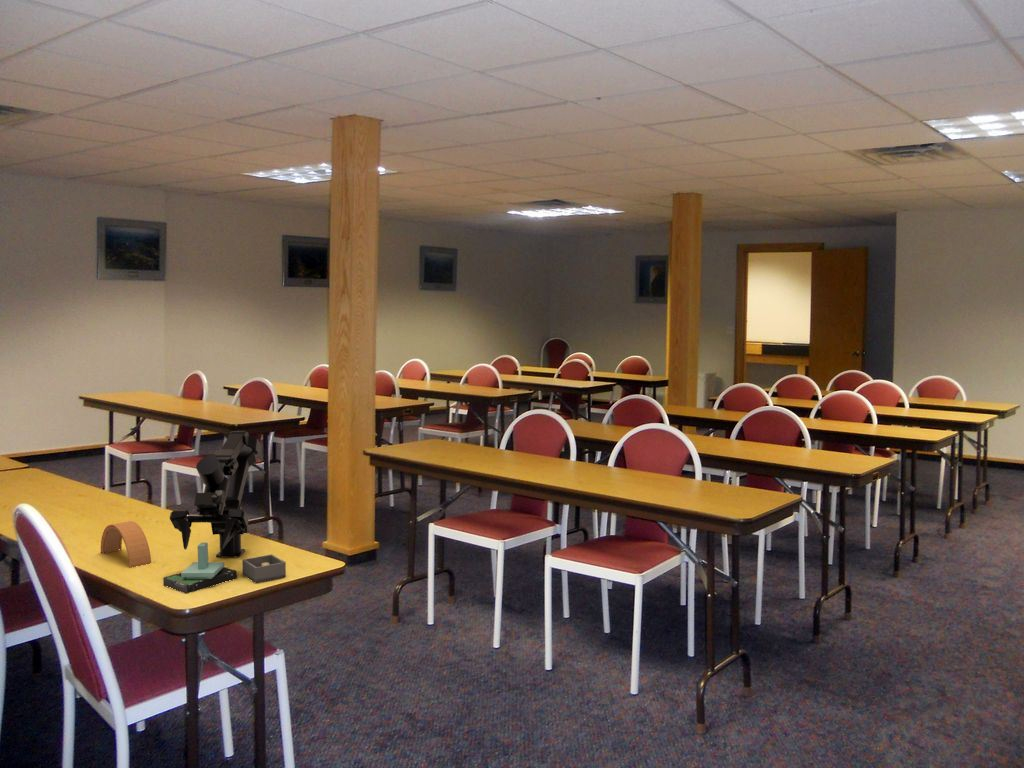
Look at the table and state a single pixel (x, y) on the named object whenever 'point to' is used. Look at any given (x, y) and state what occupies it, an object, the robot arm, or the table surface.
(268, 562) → the tub
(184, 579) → the disk drive
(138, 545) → the arch
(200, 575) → the lid
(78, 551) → the table surface
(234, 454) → the robot arm
